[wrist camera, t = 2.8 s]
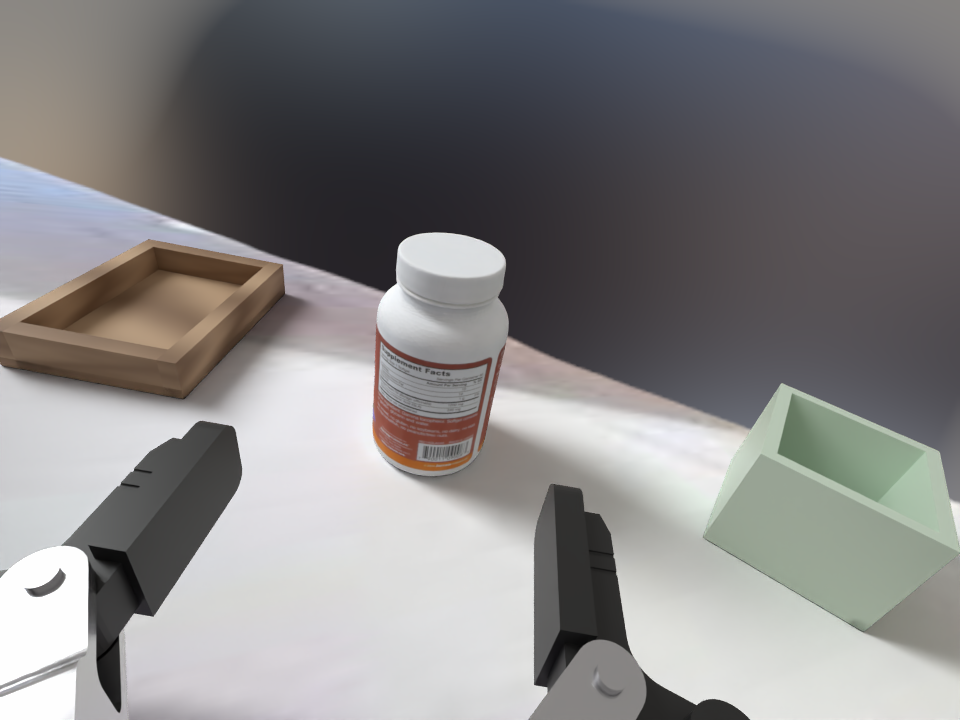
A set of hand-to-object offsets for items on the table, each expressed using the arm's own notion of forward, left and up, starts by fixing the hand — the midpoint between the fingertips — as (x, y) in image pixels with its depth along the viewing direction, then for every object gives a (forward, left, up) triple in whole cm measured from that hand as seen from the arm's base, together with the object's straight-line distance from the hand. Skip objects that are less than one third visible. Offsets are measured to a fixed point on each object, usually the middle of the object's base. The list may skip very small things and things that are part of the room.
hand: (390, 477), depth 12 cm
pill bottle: (+10, +6, -10) cm, 15 cm away
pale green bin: (+18, -12, -9) cm, 24 cm away
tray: (+6, +25, -9) cm, 27 cm away
